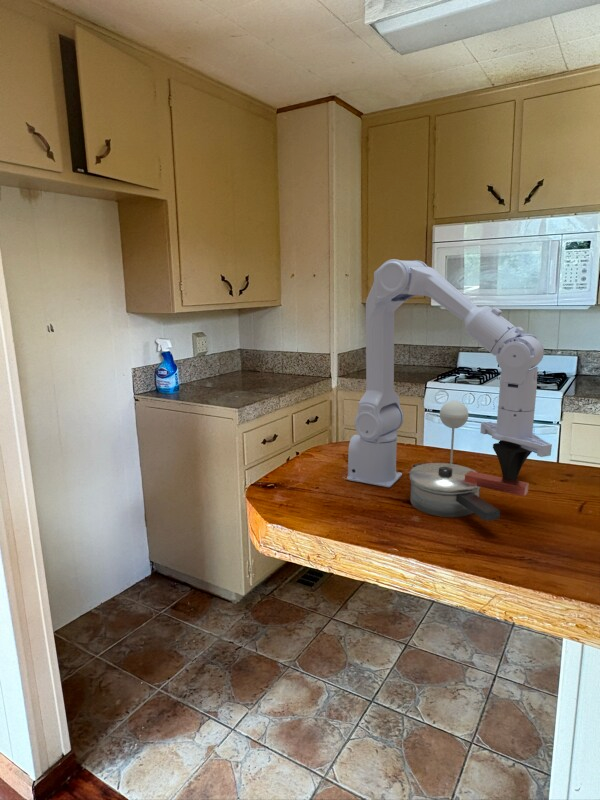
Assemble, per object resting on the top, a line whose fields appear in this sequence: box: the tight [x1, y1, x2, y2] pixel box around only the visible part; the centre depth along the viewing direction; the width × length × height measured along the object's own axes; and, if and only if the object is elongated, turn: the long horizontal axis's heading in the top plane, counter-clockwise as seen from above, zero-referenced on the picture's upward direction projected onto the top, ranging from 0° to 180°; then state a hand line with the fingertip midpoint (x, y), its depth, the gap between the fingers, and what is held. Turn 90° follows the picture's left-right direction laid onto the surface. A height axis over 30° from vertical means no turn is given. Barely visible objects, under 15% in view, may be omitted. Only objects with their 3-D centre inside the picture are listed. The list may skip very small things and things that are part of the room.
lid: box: [409, 462, 530, 497], centre depth 94 cm, size 20×13×2 cm, turn 54°
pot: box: [409, 462, 501, 522], centre depth 95 cm, size 18×18×5 cm
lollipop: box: [439, 400, 470, 464], centre depth 113 cm, size 6×6×15 cm
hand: (509, 483), depth 92 cm, fingers closed, pressing on lid
